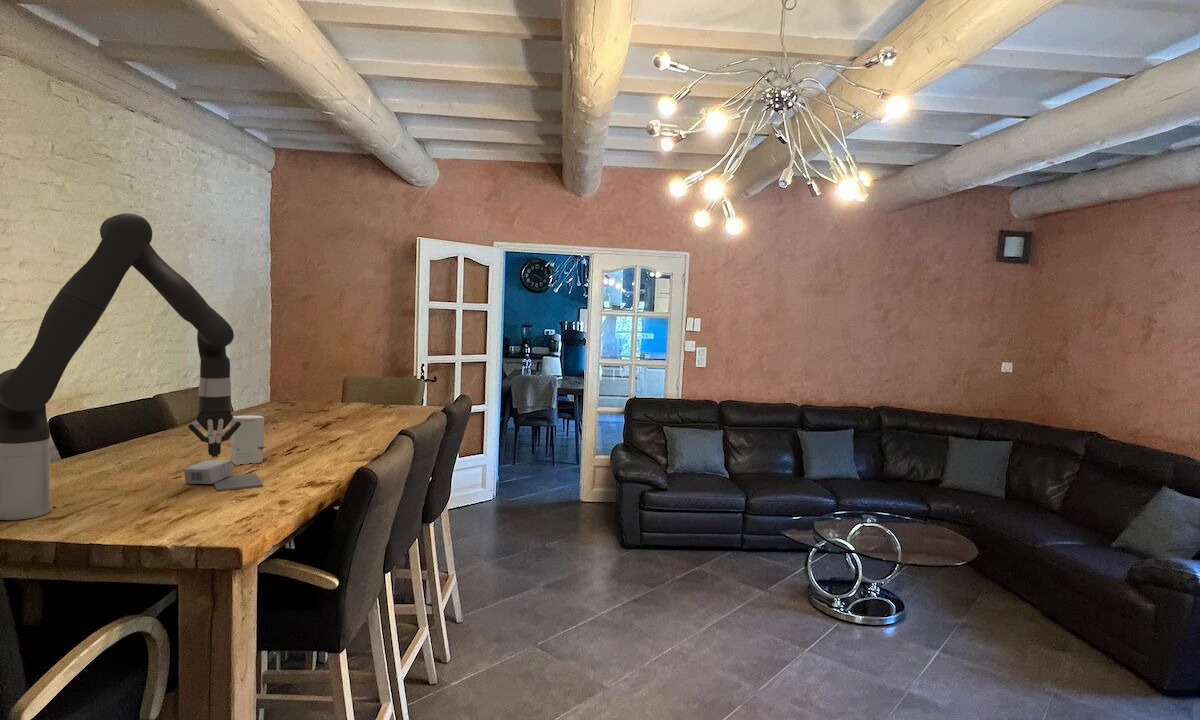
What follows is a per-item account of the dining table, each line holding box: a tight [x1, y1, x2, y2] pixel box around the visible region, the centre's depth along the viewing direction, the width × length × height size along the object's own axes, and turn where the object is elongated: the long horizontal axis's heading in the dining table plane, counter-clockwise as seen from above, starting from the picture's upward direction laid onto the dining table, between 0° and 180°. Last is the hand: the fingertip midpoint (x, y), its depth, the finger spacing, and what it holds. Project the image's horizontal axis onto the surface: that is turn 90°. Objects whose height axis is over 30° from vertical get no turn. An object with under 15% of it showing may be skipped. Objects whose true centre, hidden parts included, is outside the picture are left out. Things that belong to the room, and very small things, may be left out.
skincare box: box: [229, 414, 265, 466], centre depth 200 cm, size 8×6×15 cm
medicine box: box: [183, 459, 233, 485], centre depth 177 cm, size 8×4×9 cm
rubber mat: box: [213, 472, 264, 492], centre depth 177 cm, size 11×14×1 cm
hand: (214, 456), depth 174 cm, fingers closed
